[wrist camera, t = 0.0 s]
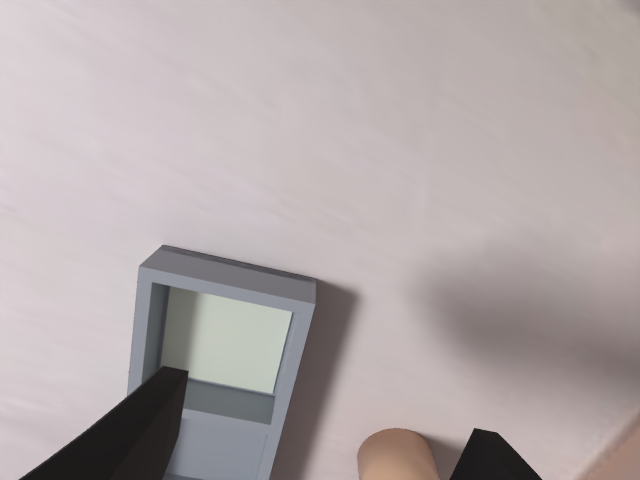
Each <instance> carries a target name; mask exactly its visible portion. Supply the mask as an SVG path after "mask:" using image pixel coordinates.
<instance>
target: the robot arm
mask: <svg viewBox="0 0 640 480" xmlns="http://www.w3.org/2000/svg"><path fill="white" fill-rule="evenodd" d="M188 374H189V371H187V370H182V369H177V368H172V367H167V366H162V367H160V368H159V369H157V370H156V371H155V372H154V373H153V374H152V375H151V376H150V377H149V378H148V379H147V380H145V381H144V382H143V383H142V384H141V385H140V386H139V387H138V388H137V389H135V390H134V391H133V392H132V393H131V394H130V395H128V396H127V397H126V398H125V399H124V400H123V401H121V402H120V403H119V404H118V405H117V406H116V407H114V408H113V409H112V410H111V411H109V412H108V413H107V414H106V415H105V416H103V417H102V418H101V419H100V420H98V421H97V422H96V423H95V424H93V425H92V426H91V427H90V428H89V429H87V430H86V431H85V432H83V433H82V434H81V435H80V436H78V437H77V438H76V439H74V440H73V441H71V442H70V443H69V444H67V445H66V446H65V447H63V448H62V449H61V450H59V451H58V452H57V453H55V454H54V455H53V456H51V457H50V458H49V459H47V460H46V461H45V462H43V463H42V464H40V465H39V466H38V467H36V468H35V469H33V470H32V471H30V472H29V473H28V474H26V475H25V476H23V477H22V478H20V479H19V480H162V479H163V477H164V474H165V471H166V469H167V466H168V464H169V461H170V458H171V455H172V453H173V450H174V447H175V445H176V442H177V439H178V437H179V431H180V425H181V418H182V412H183V406H184V399H185V393H186V387H187V380H188ZM450 480H542V479H541V478H540V477H539V475H538V474H537V473H536V472H535V471H534V470H533V469H532V468H531V467H530V466H529V465H528V464H527V463H526V462H525V460H524V459H523V458H522V457H521V456H520V455H519V454H518V453H517V452H516V451H515V450H514V449H513V448H512V447H511V446H510V445H509V444H508V443H507V442H506V441H505V440H504V439H503V438H502V437H501V436H500V435H499V434H498V433H496V432H491V431H486V430H481V429H476V428H474V430H473V432H472V434H471V436H470V438H469V440H468V442H467V445H466V447H465V449H464V451H463V453H462V455H461V457H460V459H459V461H458V463H457V465H456V467H455V470H454V472H453V474H452V476H451V478H450Z"/></svg>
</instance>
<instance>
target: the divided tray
mask: <svg viewBox="0 0 640 480" xmlns="http://www.w3.org/2000/svg"><path fill="white" fill-rule="evenodd" d="M315 305H316V279H315V278H311V277H306V276H302V275H297V274H293V273H288V272H283V271H279V270H274V269H270V268H265V267H261V266H256V265H252V264H247V263H243V262H238V261H234V260H229V259H225V258H220V257H216V256H211V255H206V254H202V253H197V252H193V251H188V250H184V249H179V248H175V247H170V246H166V245H162V246H161V247H160V248H159V249H158V250H156V251H155V252H154V253H153V254H152V255H151V256H150V257H149V258H148V259H146V260H145V261H144V262H143V263H142V264H141V265H140V266H139V270H138V281H137V292H136V303H135V314H134V324H133V335H132V346H131V357H130V368H129V378H128V389H127V396H128V395H130V394H131V393H132V392H133V391H134V390H135V389H137V388H138V387H139V386H140V385H141V384H142V383H143V382H144V381H145V380H147V379H148V378H149V377H150V376H151V375H152V374H153V373H154V372H155V371H156V370H157V369H159V368H160V367H162V366H167V367H172V368H177V369H182V370H187V371H189V374H188V380H187V387H186V393H185V399H184V406H183V412H182V418H181V425H180V431H179V437H178V439H177V442H176V445H175V447H174V450H173V453H172V455H171V458H170V461H169V464H168V466H167V469H166V471H165V474H164V477H163V479H162V480H269V477H270V473H271V470H272V466H273V462H274V458H275V455H276V451H277V447H278V443H279V440H280V436H281V432H282V428H283V425H284V421H285V417H286V413H287V410H288V406H289V402H290V398H291V395H292V391H293V387H294V383H295V380H296V376H297V372H298V368H299V365H300V361H301V357H302V353H303V350H304V346H305V342H306V338H307V335H308V331H309V327H310V323H311V320H312V316H313V312H314V308H315Z"/></svg>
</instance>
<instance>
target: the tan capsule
mask: <svg viewBox="0 0 640 480" xmlns="http://www.w3.org/2000/svg"><path fill="white" fill-rule="evenodd" d="M357 462H358V472H359V480H440V478H439V475H438V471H437V468H436V465H435V462H434V459H433V456H432V452H431V449H430V446H429V444H428V443H427V441H426V440H425V439H424V438H423V437H422V436H420V435H419V434H417V433H415V432H413V431H410V430H406V429H398V428H394V429H386V430H382V431H379V432H377V433H375V434H373V435H371V436H370V437H368V438H367V439H366V440H365V441H364V442H363V443H362V445H361V446H360V448H359V451H358V455H357Z"/></svg>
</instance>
